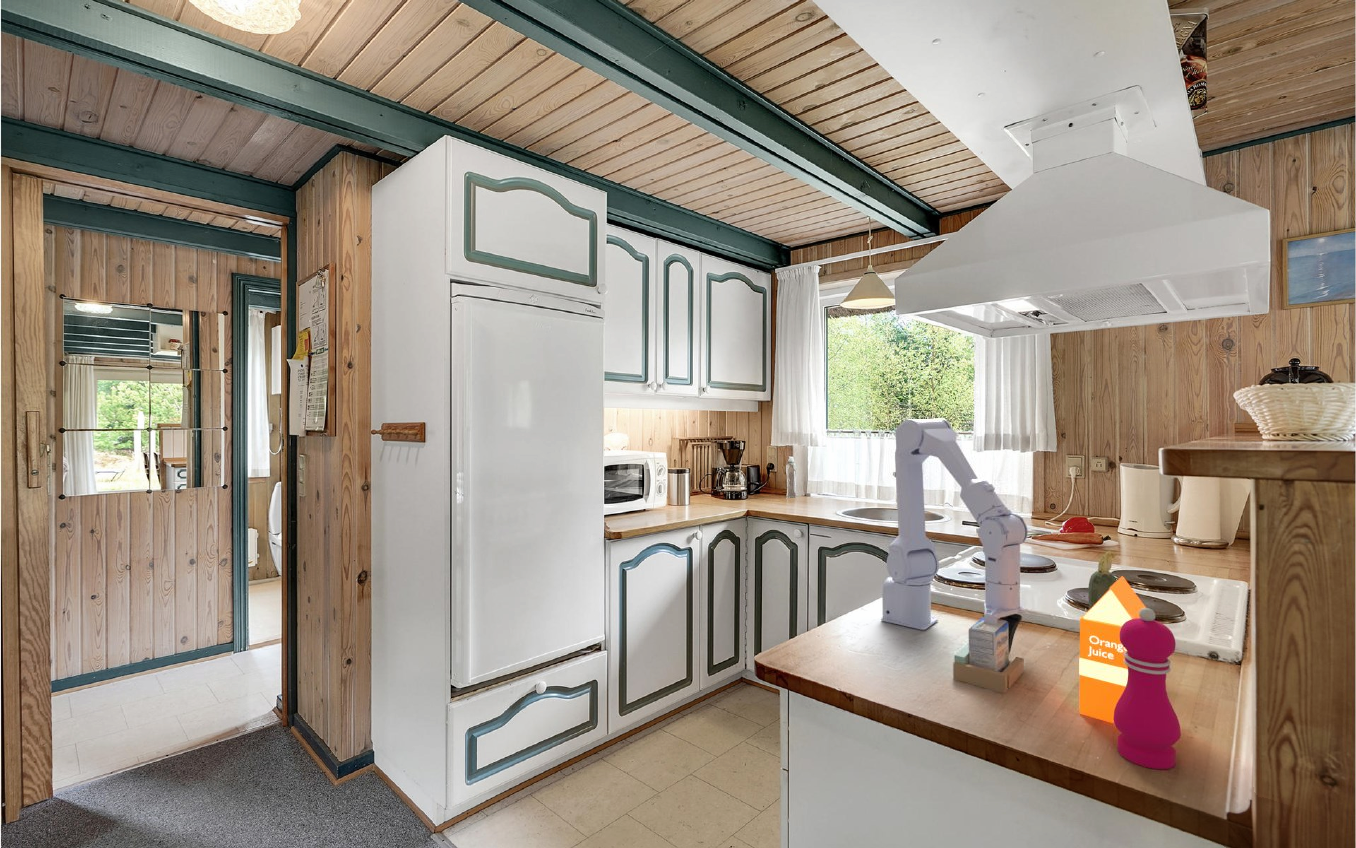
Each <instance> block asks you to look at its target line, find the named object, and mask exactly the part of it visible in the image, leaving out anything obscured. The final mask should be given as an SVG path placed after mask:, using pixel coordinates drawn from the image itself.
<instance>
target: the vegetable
mask: <svg viewBox="0 0 1356 848" xmlns="http://www.w3.org/2000/svg"><path fill="white" fill-rule="evenodd" d="M1115 557H1116V553H1114V552H1113V550H1111V549H1110V550H1108V551H1106V553H1104V556H1103V555H1102V556H1101V557H1100V559H1099V561H1098V566H1097V570H1096V571H1094V572H1093V573H1092V574H1091V576H1090V577H1089V582H1088V611H1089V610H1090V609H1091V608H1092V607H1093V606H1094V605H1095V604H1096V603H1097V602H1098V601H1099V600H1100V599H1101V598H1102V597H1103V596H1104V595H1105V594H1106V593H1107V592H1108V591H1109V590H1110V587H1111V586H1112V585H1113V584H1114V583H1115V582H1116V581H1117V580H1118V579H1117V578H1116V576H1115V575H1114V573H1112V572H1110V570H1111V568H1112V564H1113V560H1112V559H1114V558H1115Z"/></svg>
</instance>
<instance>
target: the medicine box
mask: <svg viewBox="0 0 1356 848" xmlns="http://www.w3.org/2000/svg"><path fill="white" fill-rule="evenodd" d="M968 643H969V664H970V665H974V666H978V667H982V668H986V669H990V670H994V671H998V672H1003V671H1004V670H1005V669H1006V668H1007V667H1008V665H1009V664H1010V661H1009V657H1010V656H1009V655H1010V653H1009V637H1008V622H1007V621H1004V620H1000V619H998V620H997V624H996V625H995V624H990V623H984V617H983V616H982V617H981V618H980V619H979V620H978V621H977V622H975V623H974V624H973V625H971V627H969V628H968Z"/></svg>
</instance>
